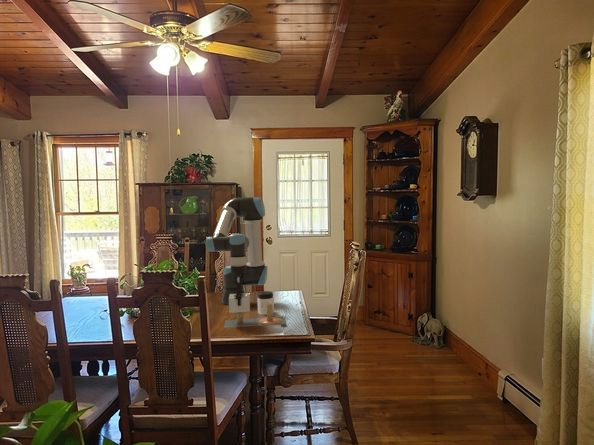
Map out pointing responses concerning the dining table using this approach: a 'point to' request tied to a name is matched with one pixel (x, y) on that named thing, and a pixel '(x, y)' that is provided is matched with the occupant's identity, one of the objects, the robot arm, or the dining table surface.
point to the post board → (256, 320)
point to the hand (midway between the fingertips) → (239, 309)
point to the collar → (244, 303)
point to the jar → (264, 301)
